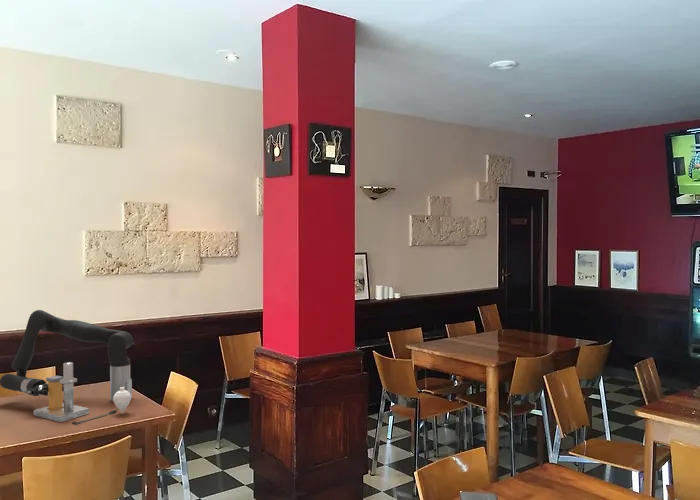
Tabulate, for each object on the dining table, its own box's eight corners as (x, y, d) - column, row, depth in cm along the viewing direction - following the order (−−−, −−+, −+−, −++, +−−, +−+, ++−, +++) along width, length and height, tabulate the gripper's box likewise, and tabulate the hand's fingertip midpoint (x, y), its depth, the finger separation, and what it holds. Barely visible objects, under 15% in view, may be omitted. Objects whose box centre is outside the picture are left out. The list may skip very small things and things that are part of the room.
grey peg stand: (33, 415, 264) (33, 362, 264) (61, 407, 277) (61, 356, 276) (61, 422, 255) (60, 367, 255) (89, 413, 268) (88, 361, 267)
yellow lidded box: (46, 414, 267) (46, 377, 267) (57, 411, 272) (56, 375, 271) (53, 415, 265) (53, 379, 264) (64, 412, 269) (64, 376, 269)
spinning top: (126, 410, 273) (126, 384, 273) (134, 413, 268) (133, 387, 268) (110, 413, 268) (110, 387, 268) (117, 417, 263) (117, 390, 262)
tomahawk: (80, 429, 250) (80, 426, 250) (71, 424, 254) (71, 422, 254) (123, 415, 268) (123, 413, 267) (114, 411, 271) (114, 409, 271)
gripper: (18, 381, 269) (41, 386, 261) (47, 375, 281) (69, 379, 274) (18, 398, 269) (41, 403, 261) (47, 390, 282) (70, 395, 274)
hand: (55, 391), depth 268 cm, fingers open, 8 cm apart
